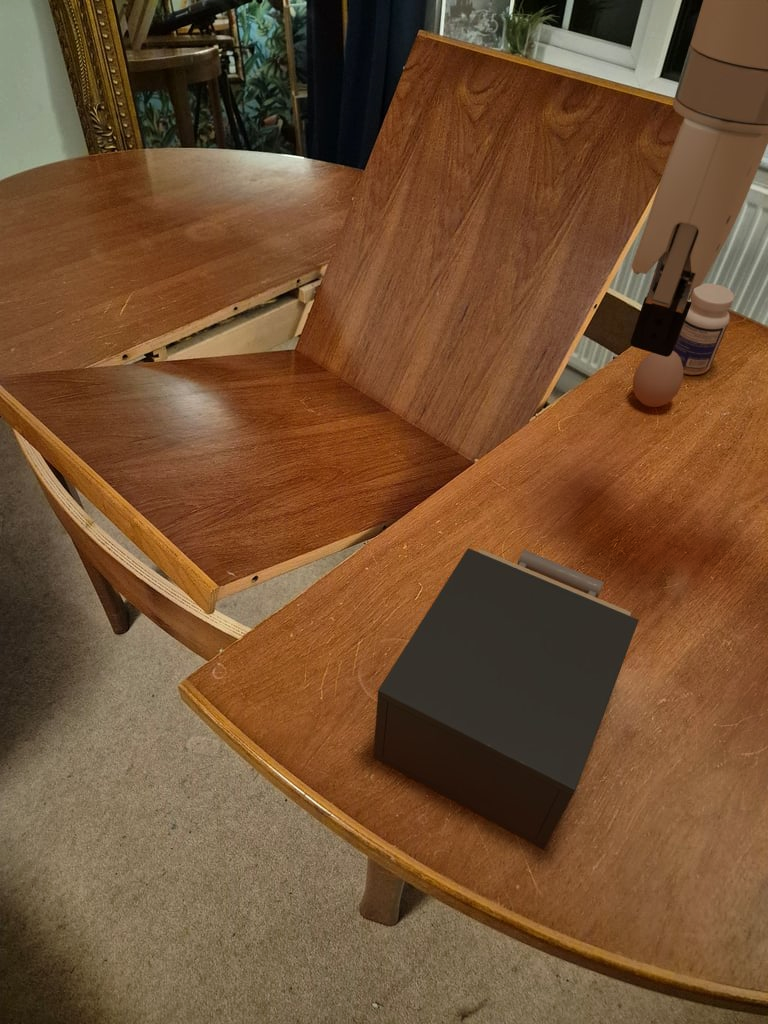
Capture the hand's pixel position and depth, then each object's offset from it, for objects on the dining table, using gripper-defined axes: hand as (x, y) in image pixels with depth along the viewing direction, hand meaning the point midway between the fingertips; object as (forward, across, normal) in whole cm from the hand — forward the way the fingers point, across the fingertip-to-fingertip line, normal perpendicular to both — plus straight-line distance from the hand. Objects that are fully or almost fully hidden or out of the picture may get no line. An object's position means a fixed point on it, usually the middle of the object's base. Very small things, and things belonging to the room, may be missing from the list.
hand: (652, 346), depth 58 cm
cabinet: (+21, +24, 0) cm, 32 cm away
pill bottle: (+21, -35, +2) cm, 41 cm away
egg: (+21, -24, 0) cm, 32 cm away
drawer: (+20, +20, 0) cm, 29 cm away
